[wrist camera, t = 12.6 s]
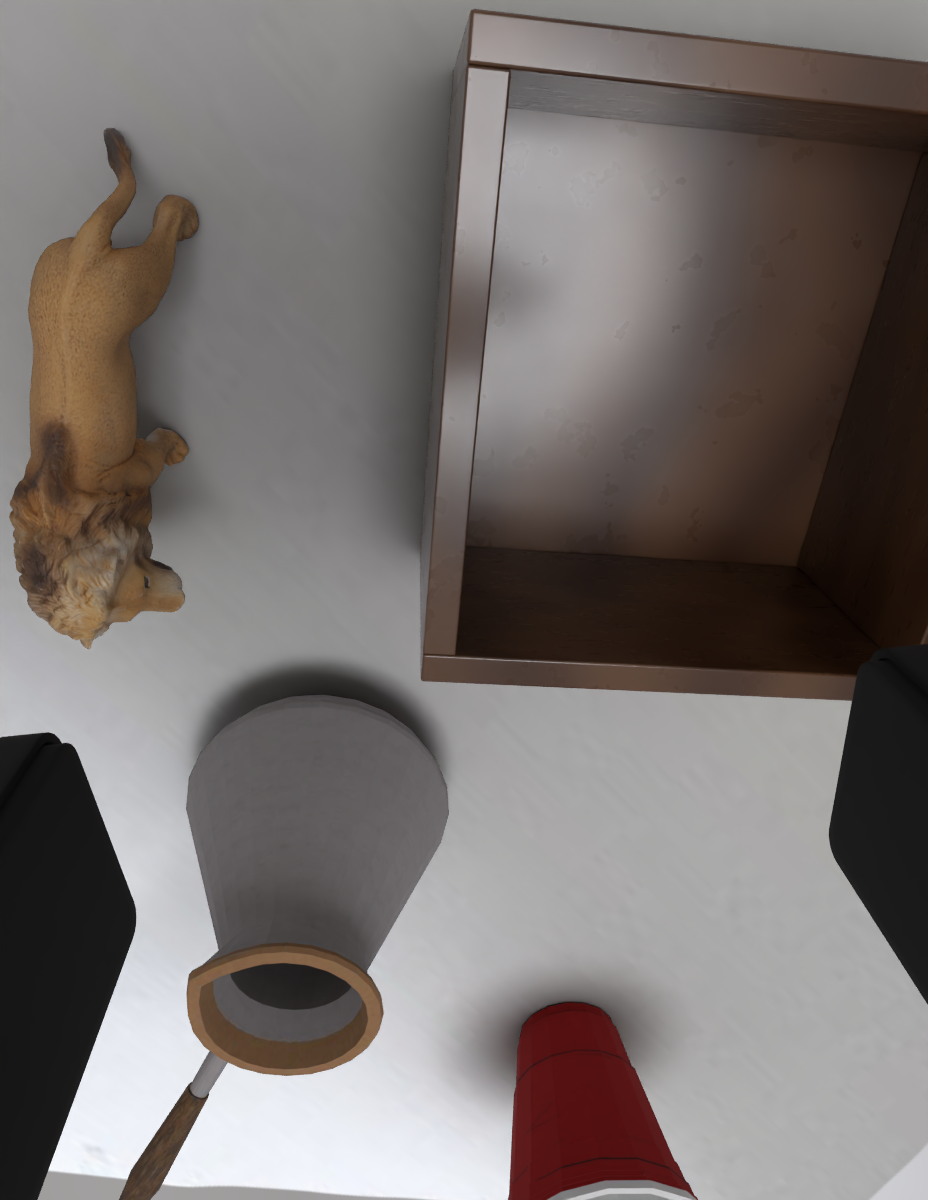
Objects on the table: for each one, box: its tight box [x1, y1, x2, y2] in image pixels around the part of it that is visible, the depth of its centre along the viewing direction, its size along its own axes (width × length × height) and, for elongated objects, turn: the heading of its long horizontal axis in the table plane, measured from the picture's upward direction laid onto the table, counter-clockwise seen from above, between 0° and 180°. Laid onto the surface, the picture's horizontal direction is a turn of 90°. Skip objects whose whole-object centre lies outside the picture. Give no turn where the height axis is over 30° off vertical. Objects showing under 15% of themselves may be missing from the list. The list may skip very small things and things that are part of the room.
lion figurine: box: [9, 128, 199, 649], centre depth 25 cm, size 15×5×9 cm, turn 176°
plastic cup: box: [508, 1003, 698, 1200], centre depth 42 cm, size 11×11×12 cm
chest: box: [420, 9, 928, 701], centre depth 26 cm, size 16×17×10 cm
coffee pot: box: [119, 695, 449, 1200], centre depth 33 cm, size 21×12×15 cm, turn 145°
